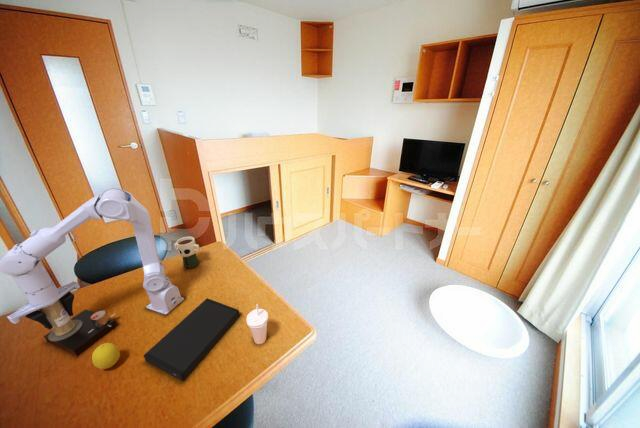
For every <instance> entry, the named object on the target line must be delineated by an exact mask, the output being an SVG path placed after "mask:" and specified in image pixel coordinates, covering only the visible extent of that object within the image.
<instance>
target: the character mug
mask: <svg viewBox="0 0 640 428" xmlns="http://www.w3.org/2000/svg"><path fill="white" fill-rule="evenodd" d="M173 246H174V249H175V251H177V252H178V255H179V256H180V257H182V265H183V268H185V269H187V267H188V269H193V268H195V267H197V266H198V265H199V263H200V260H199V258H198V255H197V254H196V253H197V252H199V251H200V250H201V249H200V245H199V244H196V240H195V238H194V237H193V236H184V237H180V238H179V239H177V240H176V242H175V243H174V245H173Z"/></svg>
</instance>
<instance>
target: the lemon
mask: <svg viewBox="0 0 640 428" xmlns="http://www.w3.org/2000/svg"><path fill="white" fill-rule="evenodd" d="M120 357H121V351H120V349H119V347H118V346H117V345H116V344H114V343H113V342H105V343H102V344H100V345H99V346H97V347H96V348H95V349H94V351H93V352H92V354H91V362H92V365H94V367H95V368H97V369H99V370H107V369H109V368H112V367H113V366H114V365H115V364H116V363H117V362H118V361H119V359H120Z"/></svg>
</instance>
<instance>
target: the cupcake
mask: <svg viewBox="0 0 640 428" xmlns="http://www.w3.org/2000/svg"><path fill="white" fill-rule="evenodd" d="M109 319H110V318H109V316H108V314H107V312H106V310H99V311H96V312H94V314H93V315H92V316H91V320H92V322H93V324H94V326H95V327H96V328H100V327H103V326H105V325H106V324H107V323H108V322H109Z"/></svg>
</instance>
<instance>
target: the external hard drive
mask: <svg viewBox="0 0 640 428" xmlns="http://www.w3.org/2000/svg"><path fill="white" fill-rule="evenodd" d="M238 318H240V310H239V309H237V308H235V307H233V306H229V305H226V304H224V303H221V302H218V301H216V300H213V299H210V298H206V299H204V300H203V301H202V302H201V303H199V305H198V306H196V307H195V308H194V309H193V310H192V311H191V312H189V314H187V316H185V317H184V318H183V319H182V320H181V321H180V322H179V323H177V324H176V325H175V326H174V327H173V328H172V329H171V330H170V331H168V332H167V334H165V335H164V336H163V337H162V338H161V339H160V340H159V341H158V342H157V343H156V344H154V345H153V346H152V347H151V348H150V349H149V350H148V351H147V352H145V353H144V354H143V358H144V360H145V362H146V363H148V364H150V365H151V366H153V367H155V368H157V369H158V370H161V371H162V372H165V373H166V374H167V375H170V376H171V377H174V378H175V379H177V380H179V381H181V382H184V381H185V380H186V379H187V378H188V377H189V375H190V374H191V373H192V372H193V371H194V370H195V368H196V367H197V366H198V365H199V364H200V363H201V361H202V360H203V359H204V358H205V357H206V356H207V354H208V353H209V352H210V351H211V350H212V349H213V347H214V346H215V345H216V344H217V343H218V342H219V341H220V340H221V338H223V336H224V335H225V334H226V333H227V331H228V330H230V328H231V327H232V325H233V324H234V323H235V322H236V321H237V320H238Z"/></svg>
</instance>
